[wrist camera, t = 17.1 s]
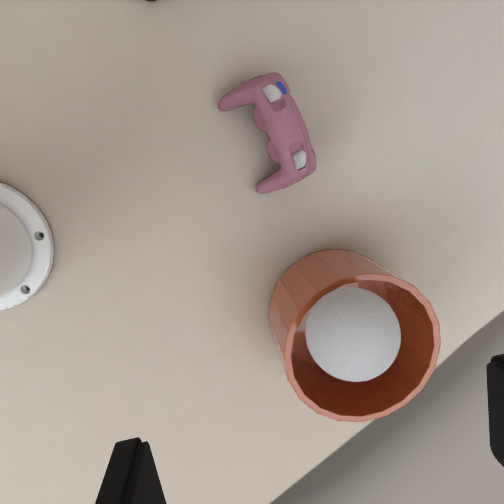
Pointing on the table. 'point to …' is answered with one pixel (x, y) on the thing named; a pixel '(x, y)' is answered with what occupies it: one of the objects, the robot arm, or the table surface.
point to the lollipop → (353, 334)
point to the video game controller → (276, 128)
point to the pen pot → (325, 385)
